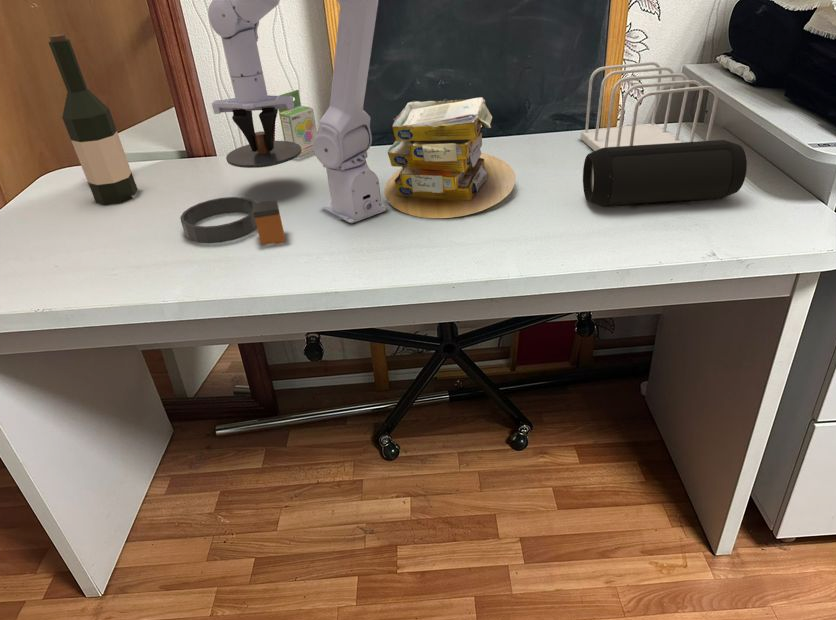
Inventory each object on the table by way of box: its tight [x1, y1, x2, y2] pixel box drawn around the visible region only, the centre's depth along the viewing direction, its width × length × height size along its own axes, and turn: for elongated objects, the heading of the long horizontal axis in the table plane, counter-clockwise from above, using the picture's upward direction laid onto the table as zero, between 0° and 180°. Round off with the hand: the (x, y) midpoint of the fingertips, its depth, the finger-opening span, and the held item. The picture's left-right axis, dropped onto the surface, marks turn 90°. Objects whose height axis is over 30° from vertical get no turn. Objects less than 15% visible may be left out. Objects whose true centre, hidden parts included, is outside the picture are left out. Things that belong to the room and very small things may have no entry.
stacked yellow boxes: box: [384, 96, 516, 219], centre depth 115 cm, size 25×25×17 cm
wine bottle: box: [48, 33, 138, 206], centre depth 119 cm, size 8×8×30 cm
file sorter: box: [580, 61, 719, 152], centre depth 126 cm, size 25×17×16 cm
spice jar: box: [253, 199, 286, 246], centre depth 104 cm, size 4×4×6 cm
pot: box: [179, 196, 257, 244], centre depth 110 cm, size 13×13×3 cm
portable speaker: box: [582, 139, 748, 208], centre depth 108 cm, size 26×10×10 cm, turn 92°
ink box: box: [278, 89, 318, 159], centre depth 139 cm, size 7×4×13 cm, turn 143°
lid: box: [225, 130, 302, 169], centre depth 118 cm, size 14×14×5 cm
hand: (263, 149), depth 119 cm, fingers closed on lid, 2 cm apart
